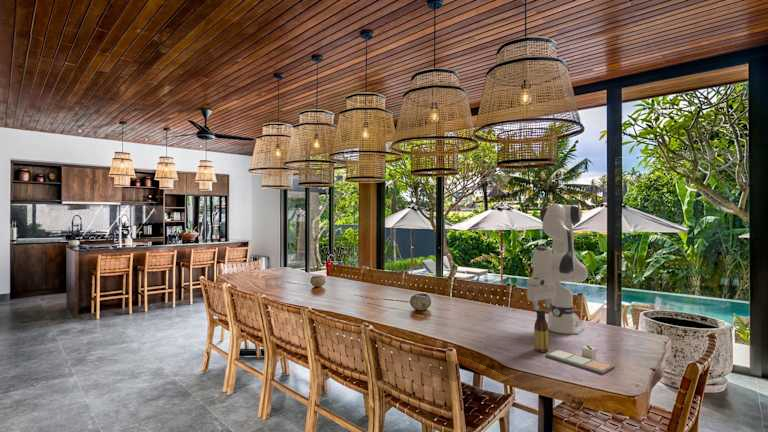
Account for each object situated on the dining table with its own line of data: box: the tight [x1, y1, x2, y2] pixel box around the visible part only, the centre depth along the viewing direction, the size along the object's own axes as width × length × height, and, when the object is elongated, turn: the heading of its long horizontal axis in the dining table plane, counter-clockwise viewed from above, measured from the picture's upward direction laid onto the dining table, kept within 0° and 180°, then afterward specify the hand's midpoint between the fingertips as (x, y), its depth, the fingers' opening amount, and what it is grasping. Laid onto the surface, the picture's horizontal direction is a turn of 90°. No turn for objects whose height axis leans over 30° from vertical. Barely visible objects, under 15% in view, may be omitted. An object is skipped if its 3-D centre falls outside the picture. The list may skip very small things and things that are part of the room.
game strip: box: [544, 348, 616, 375], centre depth 173 cm, size 12×25×1 cm, turn 38°
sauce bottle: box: [533, 308, 549, 353], centre depth 187 cm, size 7×6×20 cm
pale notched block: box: [581, 345, 597, 360], centre depth 179 cm, size 4×4×5 cm
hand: (541, 308), depth 187 cm, fingers open, 8 cm apart
